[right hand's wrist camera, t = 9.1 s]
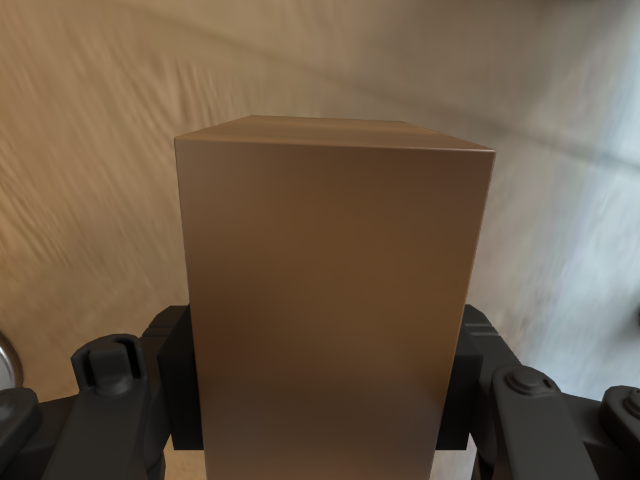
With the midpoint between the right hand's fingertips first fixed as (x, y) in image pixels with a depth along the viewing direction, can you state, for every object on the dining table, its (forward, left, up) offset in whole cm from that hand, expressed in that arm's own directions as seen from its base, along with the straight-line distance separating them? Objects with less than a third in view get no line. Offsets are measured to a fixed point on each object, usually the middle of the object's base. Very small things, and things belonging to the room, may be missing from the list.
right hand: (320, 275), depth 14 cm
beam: (-2, +21, -1) cm, 21 cm away
